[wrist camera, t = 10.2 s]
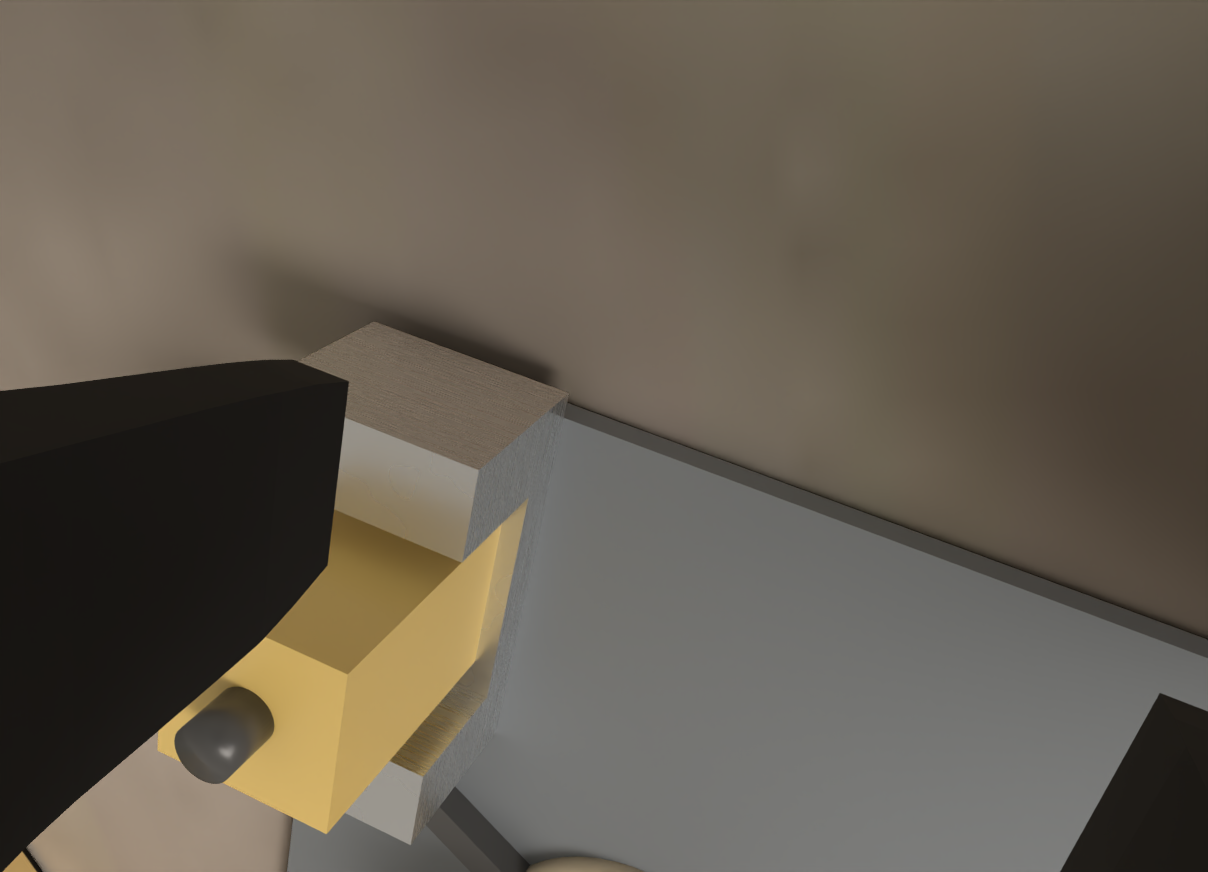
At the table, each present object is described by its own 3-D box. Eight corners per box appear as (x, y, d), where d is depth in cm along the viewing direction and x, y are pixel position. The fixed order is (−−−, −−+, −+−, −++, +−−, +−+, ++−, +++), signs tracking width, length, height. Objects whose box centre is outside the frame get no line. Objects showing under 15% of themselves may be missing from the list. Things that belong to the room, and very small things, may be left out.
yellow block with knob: (502, 523, 20) (306, 714, 15) (474, 661, 22) (287, 879, 17) (349, 461, 21) (114, 624, 16) (332, 599, 23) (112, 789, 18)
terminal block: (568, 392, 20) (478, 470, 17) (496, 732, 24) (410, 845, 21) (374, 321, 21) (255, 383, 18) (331, 658, 25) (228, 755, 22)
